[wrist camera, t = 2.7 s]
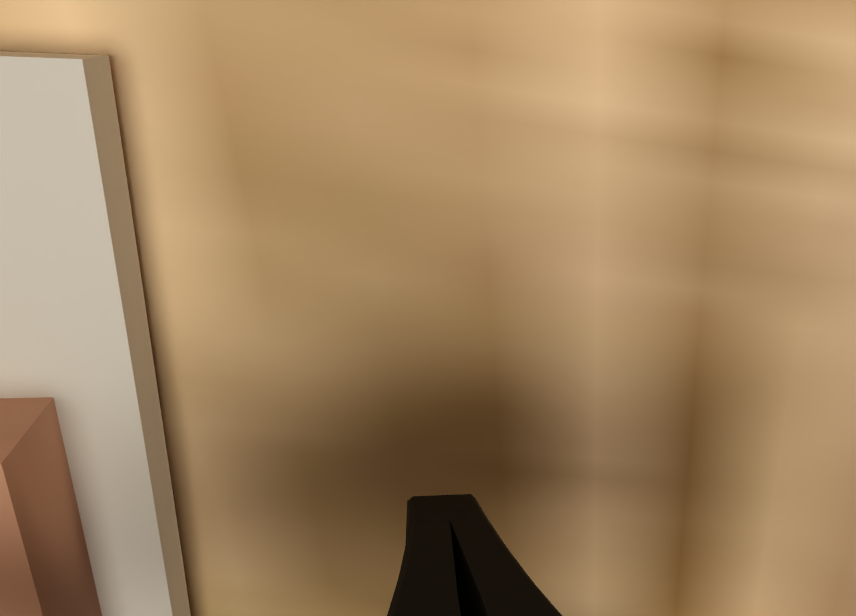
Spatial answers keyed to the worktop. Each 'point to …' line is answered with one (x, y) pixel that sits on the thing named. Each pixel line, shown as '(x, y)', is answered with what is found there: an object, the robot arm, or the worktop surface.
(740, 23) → the worktop surface
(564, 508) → the worktop surface
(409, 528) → the robot arm
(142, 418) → the board
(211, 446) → the worktop surface
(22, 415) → the block
